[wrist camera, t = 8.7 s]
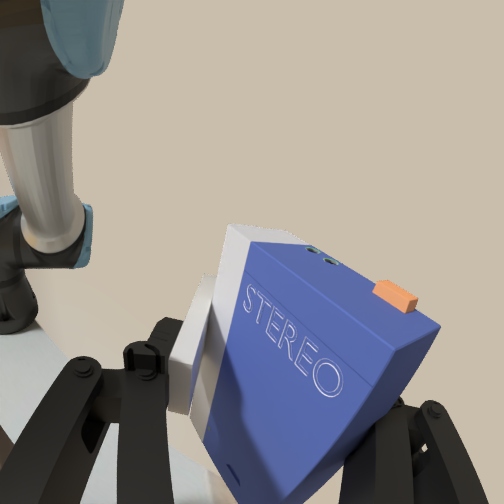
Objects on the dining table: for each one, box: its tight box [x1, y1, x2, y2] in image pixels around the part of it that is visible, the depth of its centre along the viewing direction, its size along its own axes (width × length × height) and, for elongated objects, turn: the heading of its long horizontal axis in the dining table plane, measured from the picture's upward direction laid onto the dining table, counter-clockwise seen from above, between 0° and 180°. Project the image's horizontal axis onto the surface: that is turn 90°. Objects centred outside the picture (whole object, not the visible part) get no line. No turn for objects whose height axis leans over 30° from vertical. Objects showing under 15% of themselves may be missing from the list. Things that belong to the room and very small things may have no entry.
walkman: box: [190, 224, 441, 504], centre depth 10 cm, size 8×3×12 cm, turn 29°
